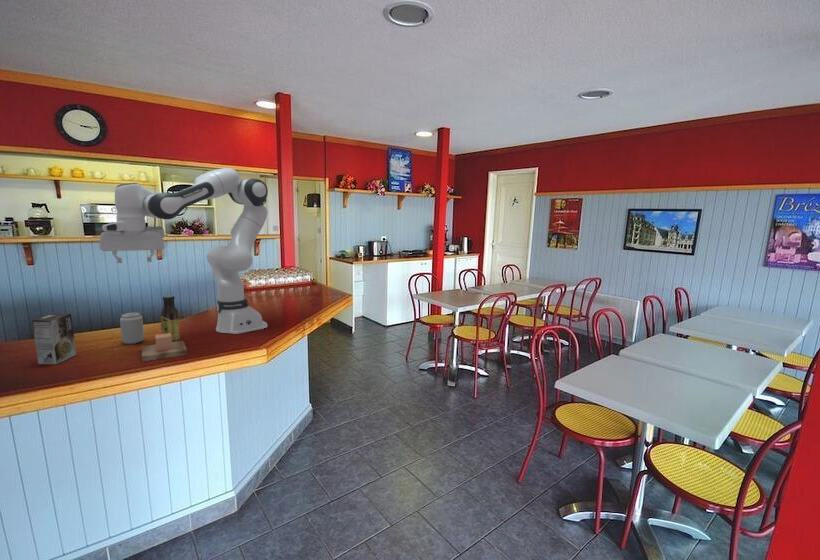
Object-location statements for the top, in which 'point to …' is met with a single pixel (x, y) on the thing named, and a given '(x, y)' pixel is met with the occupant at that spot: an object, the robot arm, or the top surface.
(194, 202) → the robot arm
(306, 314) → the top surface
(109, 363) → the top surface
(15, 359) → the top surface
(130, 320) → the can
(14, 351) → the top surface
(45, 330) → the coffee box
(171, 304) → the sauce bottle
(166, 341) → the cube
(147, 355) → the serving board
